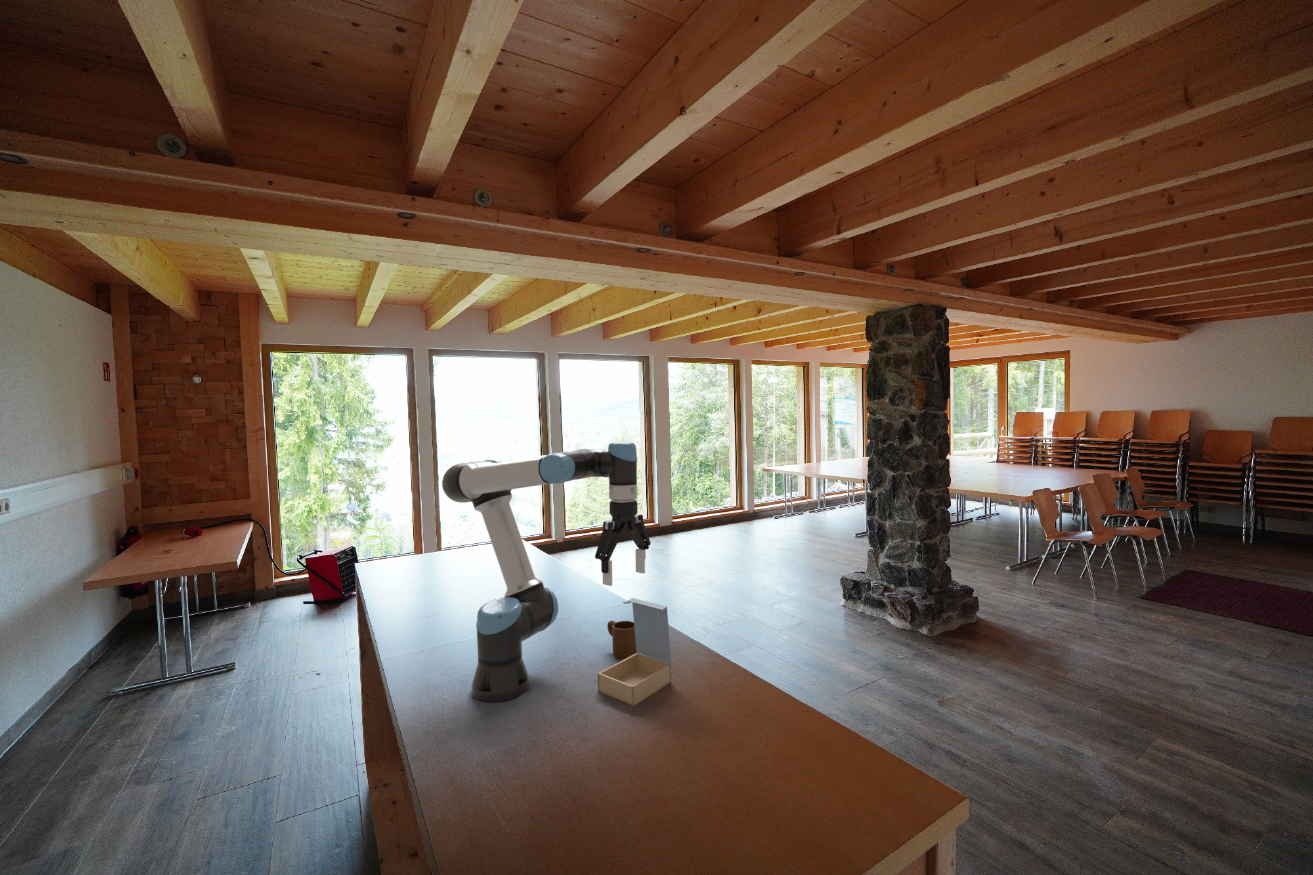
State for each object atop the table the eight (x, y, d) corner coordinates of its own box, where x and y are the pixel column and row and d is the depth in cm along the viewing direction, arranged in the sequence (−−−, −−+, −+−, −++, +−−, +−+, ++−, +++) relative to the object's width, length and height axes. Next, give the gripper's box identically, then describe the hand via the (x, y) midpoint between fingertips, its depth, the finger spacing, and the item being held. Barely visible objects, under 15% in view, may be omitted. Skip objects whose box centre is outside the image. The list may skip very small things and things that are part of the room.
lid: (662, 609, 150) (666, 606, 151) (627, 600, 158) (632, 597, 159) (666, 666, 152) (671, 663, 153) (632, 655, 160) (637, 651, 161)
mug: (599, 650, 175) (598, 621, 175) (617, 643, 180) (617, 615, 180) (623, 662, 166) (622, 631, 166) (642, 654, 172) (641, 624, 171)
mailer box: (633, 706, 141) (632, 687, 141) (597, 691, 149) (597, 673, 149) (670, 682, 153) (670, 664, 153) (636, 669, 161) (636, 653, 161)
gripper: (602, 507, 135) (603, 593, 136) (662, 495, 155) (663, 569, 156) (580, 505, 140) (581, 587, 140) (641, 493, 159) (642, 565, 160)
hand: (624, 578), depth 148 cm, fingers open, 13 cm apart
